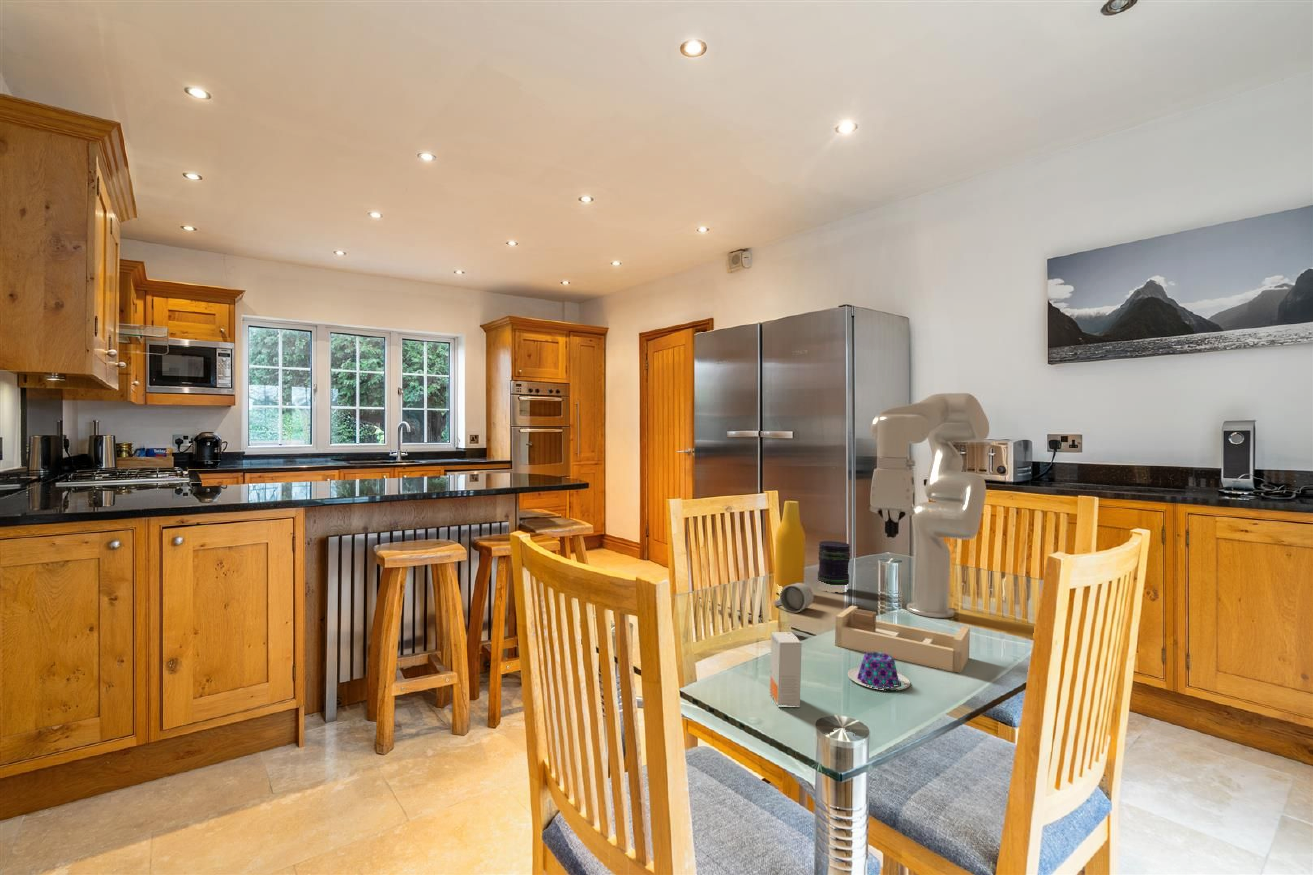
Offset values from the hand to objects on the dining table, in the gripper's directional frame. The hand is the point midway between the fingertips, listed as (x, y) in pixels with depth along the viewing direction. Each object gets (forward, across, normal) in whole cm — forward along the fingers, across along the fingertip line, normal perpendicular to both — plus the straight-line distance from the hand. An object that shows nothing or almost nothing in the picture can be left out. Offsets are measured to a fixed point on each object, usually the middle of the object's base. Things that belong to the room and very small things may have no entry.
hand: (891, 536), depth 156 cm
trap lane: (+24, -5, +12) cm, 28 cm away
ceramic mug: (+25, +28, -5) cm, 38 cm away
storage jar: (+26, +26, -36) cm, 52 cm away
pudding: (+24, -6, +34) cm, 42 cm away
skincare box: (+23, +6, +55) cm, 60 cm away
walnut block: (+21, +3, +12) cm, 25 cm away
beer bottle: (+26, +36, -21) cm, 49 cm away
